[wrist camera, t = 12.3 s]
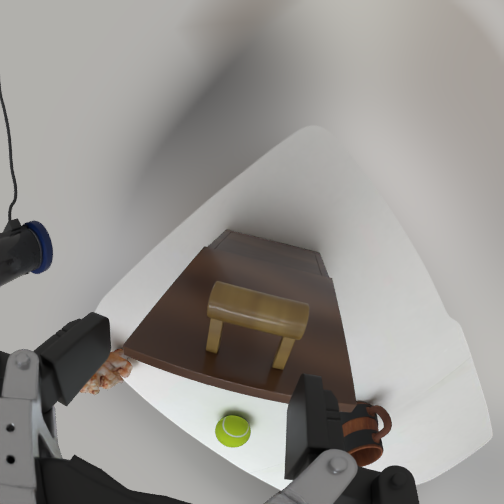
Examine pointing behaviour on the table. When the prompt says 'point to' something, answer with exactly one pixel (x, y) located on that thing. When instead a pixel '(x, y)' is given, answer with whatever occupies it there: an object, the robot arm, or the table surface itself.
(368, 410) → the mug
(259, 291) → the lid
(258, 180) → the table surface
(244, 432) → the tennis ball
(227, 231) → the chest
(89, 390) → the figurine
